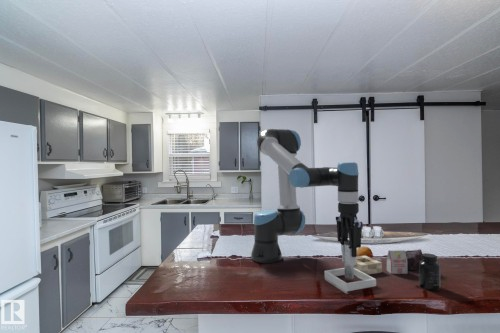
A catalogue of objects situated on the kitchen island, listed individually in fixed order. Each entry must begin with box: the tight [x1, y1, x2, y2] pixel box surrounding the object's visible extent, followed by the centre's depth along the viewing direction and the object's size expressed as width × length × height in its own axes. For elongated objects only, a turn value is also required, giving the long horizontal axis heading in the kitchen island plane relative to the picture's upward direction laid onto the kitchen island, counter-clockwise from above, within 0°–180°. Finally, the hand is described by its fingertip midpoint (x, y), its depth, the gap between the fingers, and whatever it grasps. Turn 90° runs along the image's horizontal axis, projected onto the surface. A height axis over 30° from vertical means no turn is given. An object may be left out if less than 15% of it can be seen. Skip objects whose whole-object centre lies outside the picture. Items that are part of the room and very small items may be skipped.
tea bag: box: [386, 249, 409, 275], centre depth 120 cm, size 4×7×10 cm, turn 90°
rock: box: [405, 249, 423, 272], centre depth 125 cm, size 12×9×10 cm
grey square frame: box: [324, 267, 377, 295], centre depth 112 cm, size 14×13×4 cm
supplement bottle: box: [418, 252, 441, 292], centre depth 107 cm, size 7×7×12 cm
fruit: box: [356, 245, 373, 258], centre depth 137 cm, size 8×8×8 cm
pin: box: [343, 239, 355, 280], centre depth 112 cm, size 4×4×14 cm
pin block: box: [354, 256, 383, 275], centre depth 124 cm, size 10×10×5 cm
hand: (349, 262), depth 112 cm, fingers closed on pin, 3 cm apart
